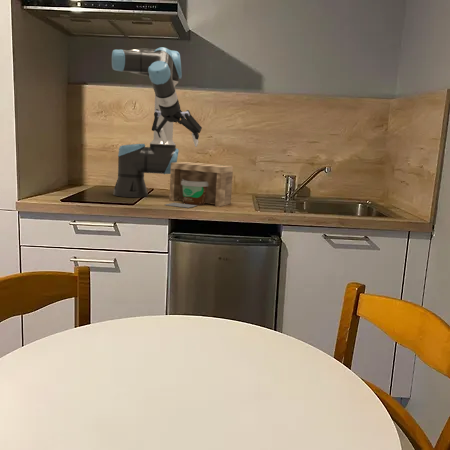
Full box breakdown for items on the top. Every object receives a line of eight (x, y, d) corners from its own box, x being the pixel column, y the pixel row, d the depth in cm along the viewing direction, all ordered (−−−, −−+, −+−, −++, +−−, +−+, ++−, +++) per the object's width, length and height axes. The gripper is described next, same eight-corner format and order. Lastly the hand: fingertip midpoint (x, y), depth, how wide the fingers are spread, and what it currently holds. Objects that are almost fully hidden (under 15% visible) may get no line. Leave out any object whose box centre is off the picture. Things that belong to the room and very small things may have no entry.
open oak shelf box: (169, 200, 232) (170, 162, 229) (182, 197, 243) (184, 161, 240) (219, 206, 223) (221, 167, 220) (230, 203, 234) (233, 166, 231)
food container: (175, 203, 224) (176, 179, 222) (181, 201, 230) (182, 178, 228) (201, 206, 220) (202, 182, 218) (207, 204, 225) (208, 181, 224)
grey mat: (164, 205, 217) (164, 204, 217) (173, 203, 224) (173, 202, 224) (188, 208, 213) (188, 207, 213) (197, 206, 220) (197, 205, 220)
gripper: (134, 106, 198) (149, 148, 214) (197, 109, 191) (208, 151, 207) (140, 94, 202) (155, 135, 218) (202, 95, 195) (212, 138, 212)
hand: (180, 143), depth 213 cm, fingers open, 13 cm apart
